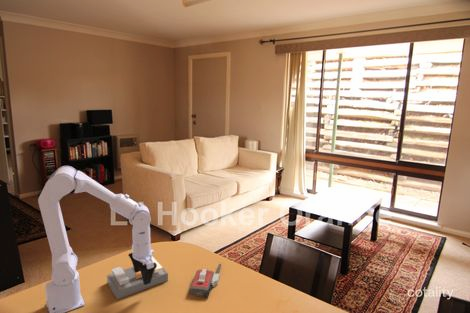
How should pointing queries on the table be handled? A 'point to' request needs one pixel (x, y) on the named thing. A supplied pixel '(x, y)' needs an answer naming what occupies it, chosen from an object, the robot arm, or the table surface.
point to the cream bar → (159, 267)
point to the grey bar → (120, 275)
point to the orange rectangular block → (138, 274)
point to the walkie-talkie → (204, 282)
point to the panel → (134, 283)
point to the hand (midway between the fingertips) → (142, 277)
